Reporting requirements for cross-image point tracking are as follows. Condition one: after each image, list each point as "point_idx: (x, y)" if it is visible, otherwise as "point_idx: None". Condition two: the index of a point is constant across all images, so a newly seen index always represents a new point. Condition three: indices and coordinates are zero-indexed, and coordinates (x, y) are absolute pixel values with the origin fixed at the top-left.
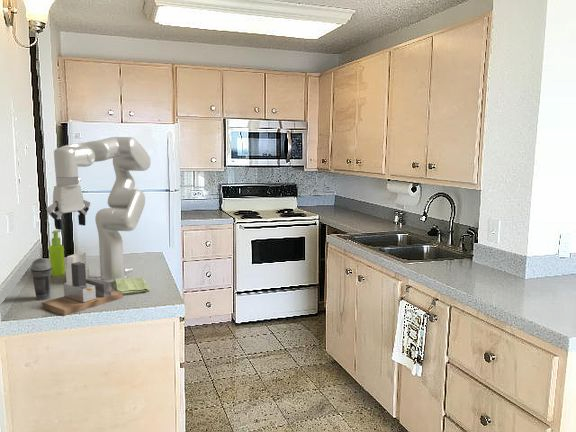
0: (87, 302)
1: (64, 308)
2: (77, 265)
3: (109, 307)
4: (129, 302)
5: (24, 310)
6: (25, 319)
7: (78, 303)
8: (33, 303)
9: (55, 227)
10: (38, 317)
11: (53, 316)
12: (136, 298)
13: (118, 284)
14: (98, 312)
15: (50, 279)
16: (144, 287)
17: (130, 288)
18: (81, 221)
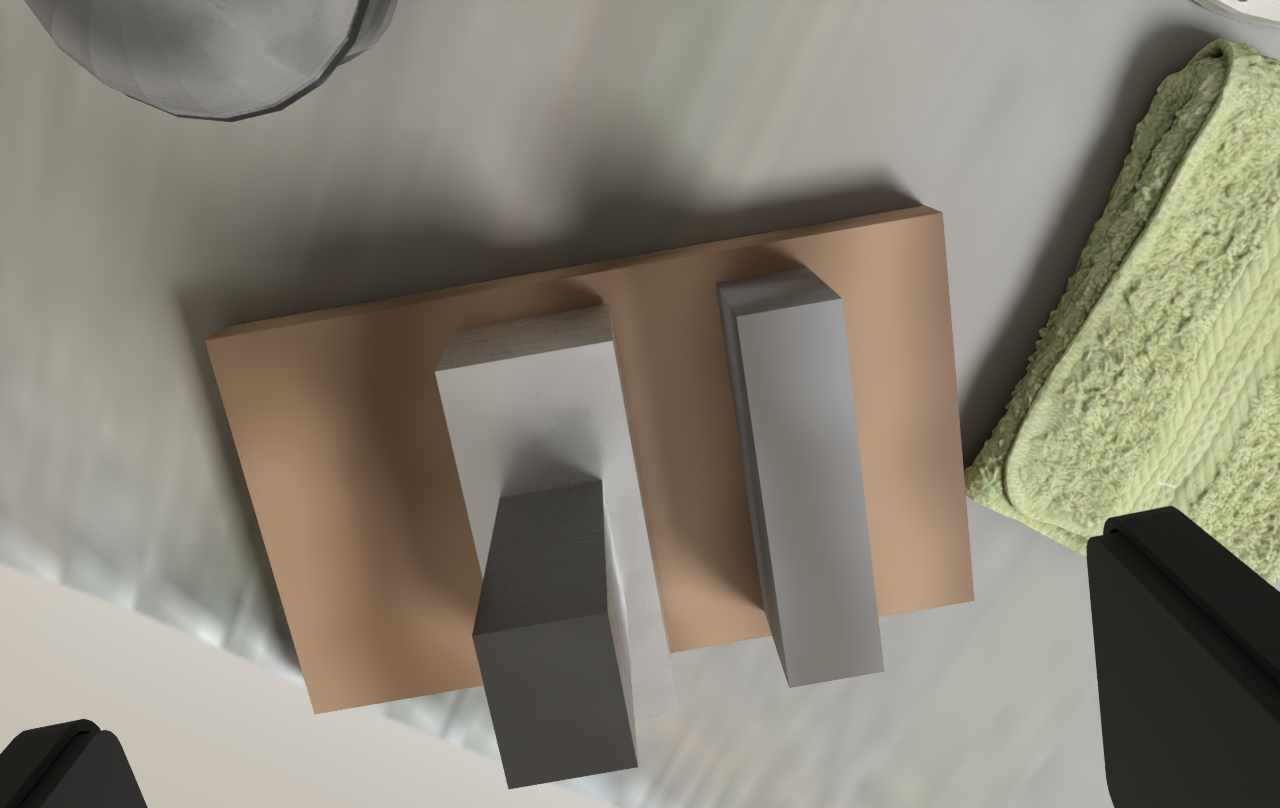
0: None
1: (329, 676)
2: (507, 781)
3: (717, 738)
4: (917, 732)
5: (51, 285)
6: (11, 554)
7: None
8: None
9: (3, 763)
10: (122, 579)
11: (240, 640)
12: (1030, 674)
13: (1118, 316)
14: (584, 791)
15: (369, 14)
16: None
17: None
18: (1169, 798)
